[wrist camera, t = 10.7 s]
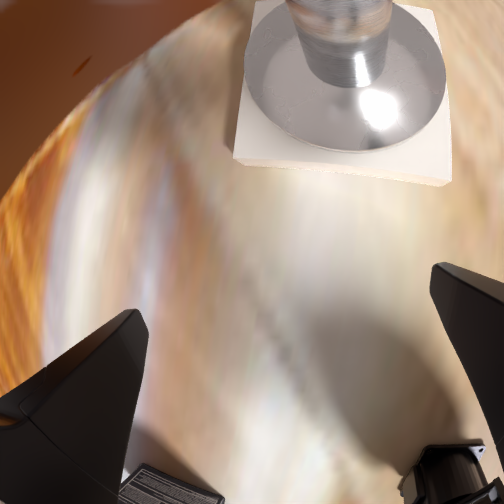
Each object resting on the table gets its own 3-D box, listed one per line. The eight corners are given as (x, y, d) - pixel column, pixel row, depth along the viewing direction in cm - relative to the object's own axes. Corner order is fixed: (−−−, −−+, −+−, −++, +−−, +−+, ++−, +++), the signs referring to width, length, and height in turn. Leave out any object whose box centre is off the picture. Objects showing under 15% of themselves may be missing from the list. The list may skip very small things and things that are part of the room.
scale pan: (421, 14, 16) (427, -12, 13) (436, 177, 17) (452, 165, 14) (268, 6, 20) (256, -19, 16) (249, 157, 21) (231, 144, 18)
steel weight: (400, 49, 14) (416, -71, 4) (361, 104, 15) (360, -19, 6) (330, 15, 15) (301, -100, 6) (287, 65, 16) (228, -51, 7)
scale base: (427, 26, 16) (432, 9, 14) (440, 187, 18) (451, 181, 15) (264, 16, 21) (255, 0, 18) (245, 165, 22) (232, 158, 19)
